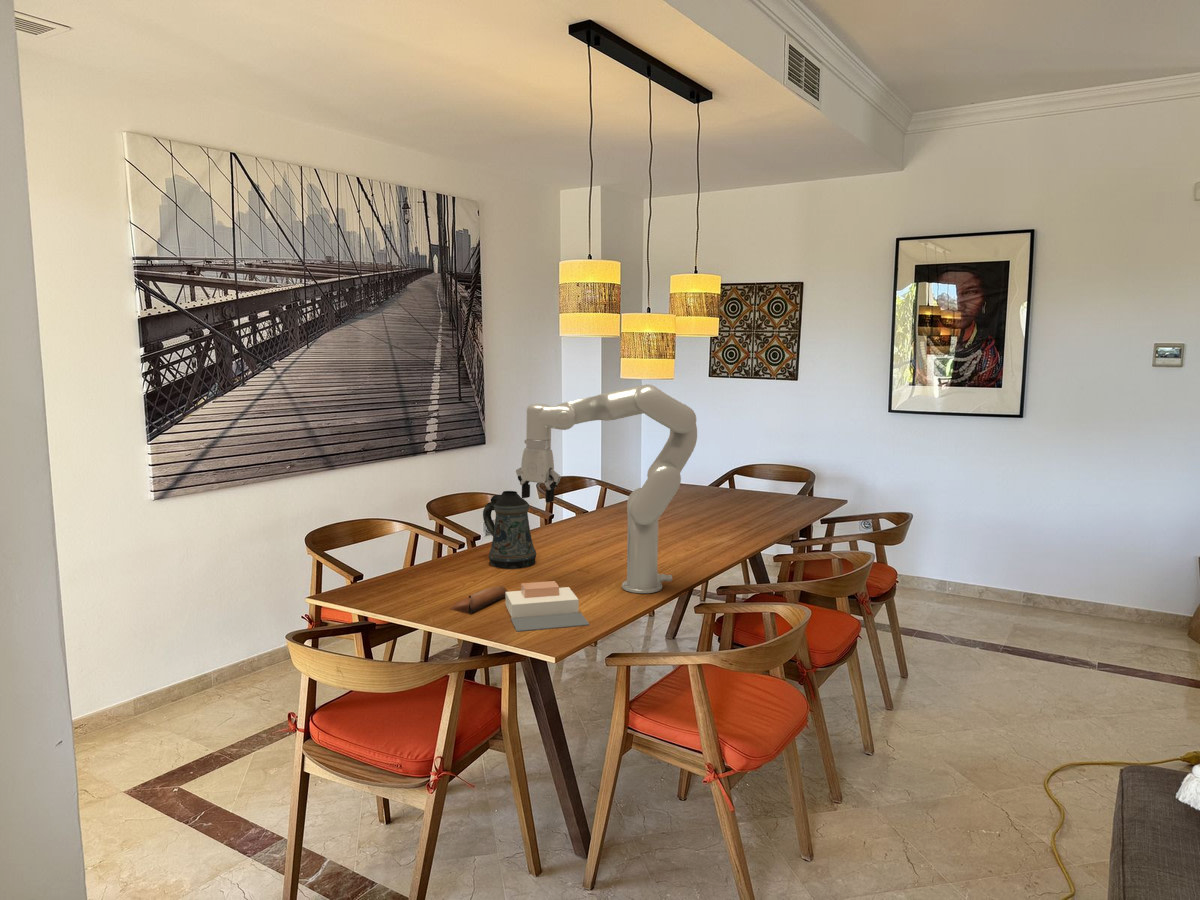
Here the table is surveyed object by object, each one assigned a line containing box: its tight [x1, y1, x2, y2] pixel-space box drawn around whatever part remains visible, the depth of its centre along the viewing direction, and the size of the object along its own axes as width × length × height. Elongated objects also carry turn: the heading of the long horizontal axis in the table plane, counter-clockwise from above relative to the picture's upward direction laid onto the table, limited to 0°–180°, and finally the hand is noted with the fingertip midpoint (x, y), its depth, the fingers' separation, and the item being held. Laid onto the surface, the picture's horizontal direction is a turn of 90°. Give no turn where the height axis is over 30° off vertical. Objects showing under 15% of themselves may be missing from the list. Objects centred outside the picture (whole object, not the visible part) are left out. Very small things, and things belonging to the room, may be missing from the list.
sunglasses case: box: [449, 585, 508, 615], centre depth 238 cm, size 18×7×7 cm
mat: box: [510, 611, 591, 633], centre depth 223 cm, size 20×10×1 cm, turn 105°
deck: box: [504, 586, 580, 618], centre depth 234 cm, size 19×12×4 cm, turn 105°
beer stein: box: [482, 490, 537, 570], centre depth 281 cm, size 16×19×25 cm
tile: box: [520, 580, 560, 598], centre depth 235 cm, size 10×6×2 cm, turn 105°
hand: (537, 499), depth 250 cm, fingers open, 9 cm apart
